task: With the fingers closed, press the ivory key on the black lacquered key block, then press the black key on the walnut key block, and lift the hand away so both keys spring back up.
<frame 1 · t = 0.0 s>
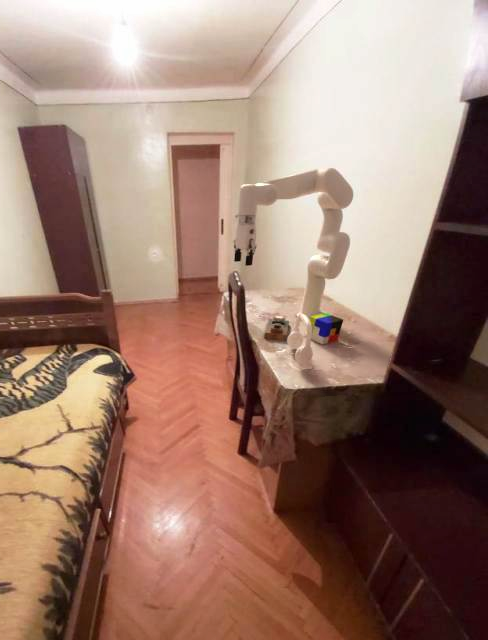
hand: (242, 263, 142), 31 cm above the table, tool pointing down, fingers open, 9 cm apart
key ivory: (279, 318, 160), point 4 cm above the table, slide at 0.1 cm
block black: (277, 327, 162), on the table
puzzle toy: (321, 338, 150), on the table
key ebony: (277, 325, 150), point 5 cm above the table, slide at 0.1 cm
headset: (297, 358, 133), on the table
block walnut: (275, 335, 153), on the table
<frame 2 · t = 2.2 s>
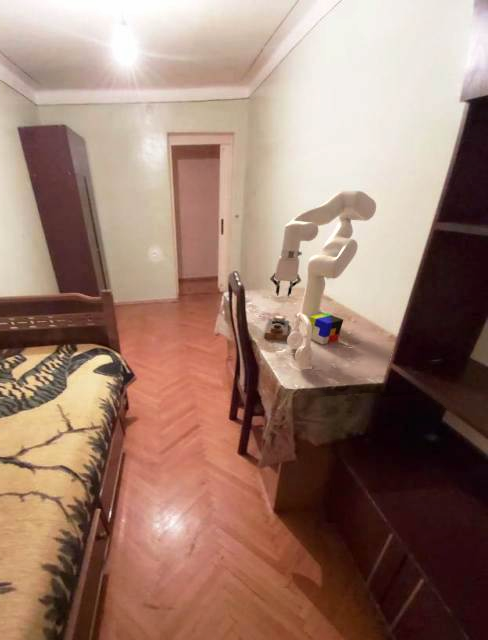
hand: (283, 294, 153), 16 cm above the table, tool pointing down, fingers open, 4 cm apart
nothing on the table moved.
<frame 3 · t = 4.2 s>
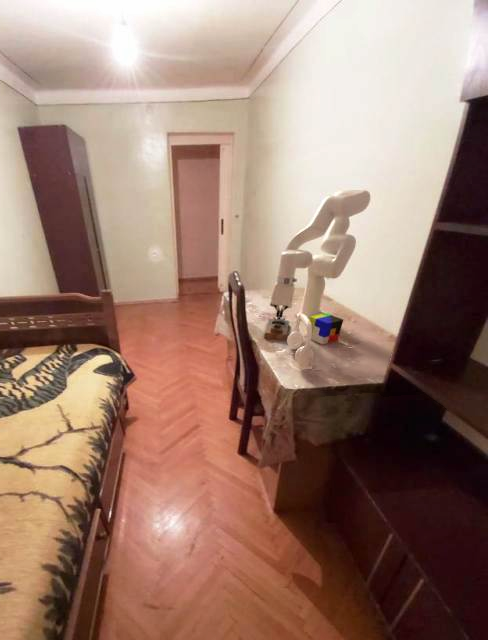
hand: (278, 318, 159), 5 cm above the table, tool pointing down, fingers closed
key ivory: (278, 320, 160), point 4 cm above the table, slide at -0.6 cm, touching gripper
everything else where it was.
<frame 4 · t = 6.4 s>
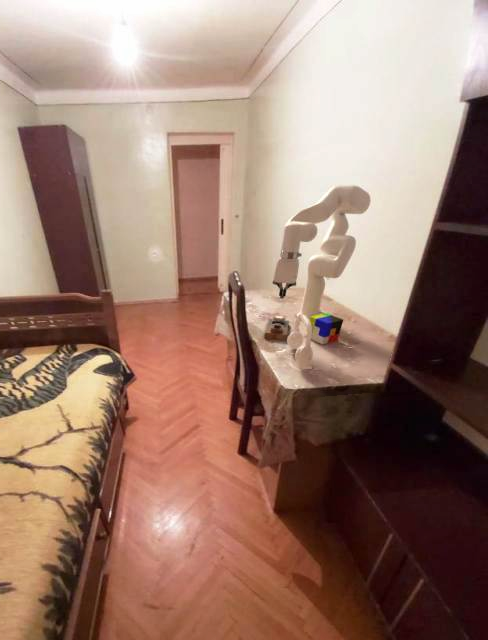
hand: (281, 297, 149), 16 cm above the table, tool pointing down, fingers closed
key ivory: (279, 318, 160), point 4 cm above the table, slide at 0.1 cm
everything else where it was.
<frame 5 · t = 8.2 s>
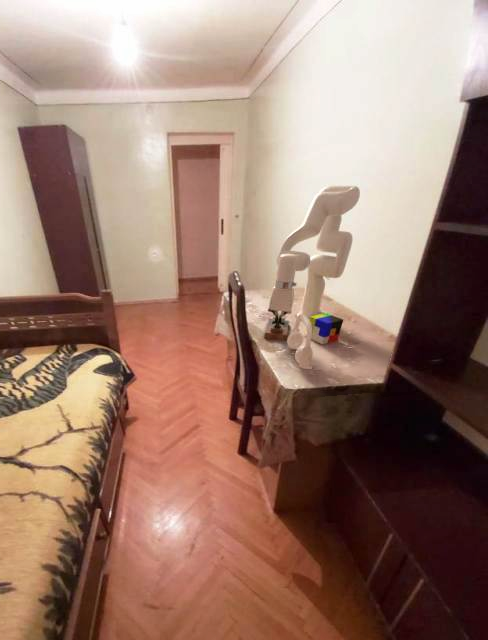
hand: (277, 324, 150), 6 cm above the table, tool pointing down, fingers closed
key ebony: (277, 326, 150), point 5 cm above the table, slide at -0.1 cm, touching gripper
everything else where it was.
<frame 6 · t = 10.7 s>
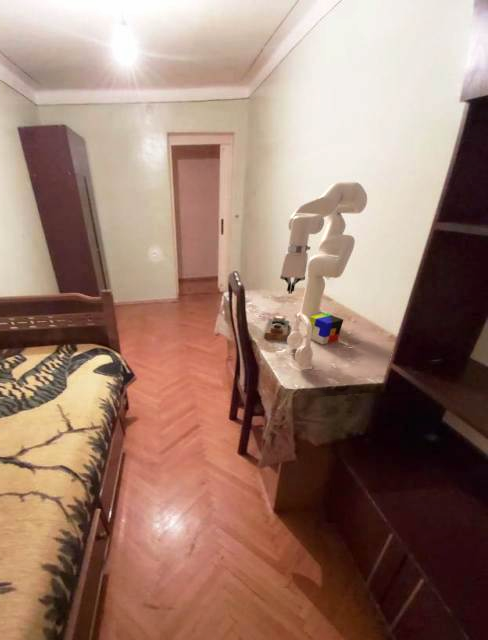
hand: (290, 292, 145), 19 cm above the table, tool pointing down, fingers closed
key ebony: (277, 325, 150), point 5 cm above the table, slide at 0.1 cm
everything else where it was.
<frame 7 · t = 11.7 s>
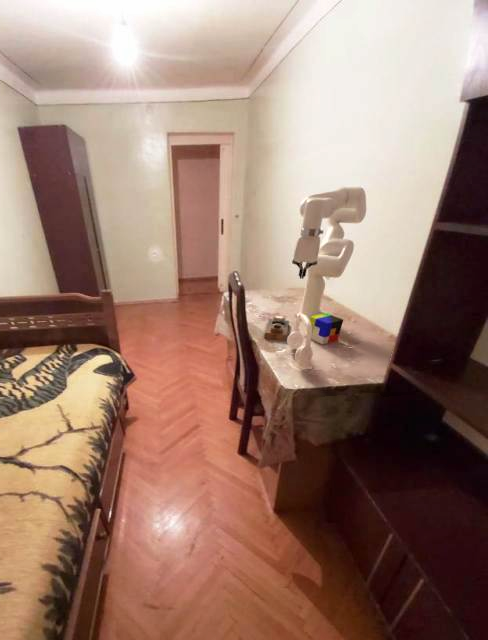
hand: (301, 277, 145), 25 cm above the table, tool pointing down, fingers closed
nothing on the table moved.
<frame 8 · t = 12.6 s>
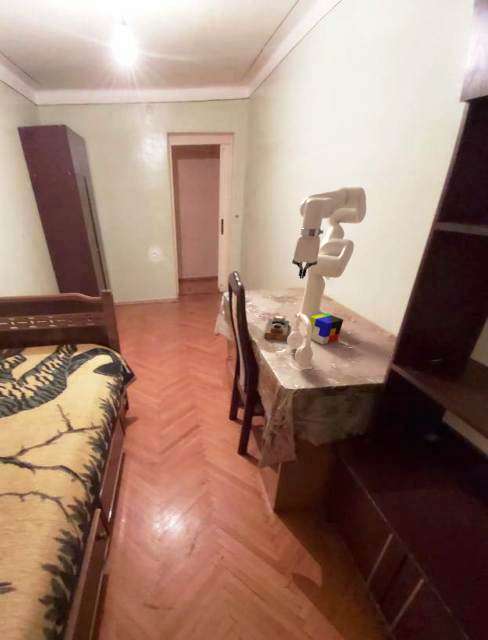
hand: (301, 277, 145), 25 cm above the table, tool pointing down, fingers closed
nothing on the table moved.
at the end: key ivory pushed in 1.1 cm at the most during the clip, back to where it started at the end; key ebony pushed in 1.0 cm at the most during the clip, back to where it started at the end; key ebony slide at 0.1 cm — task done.
